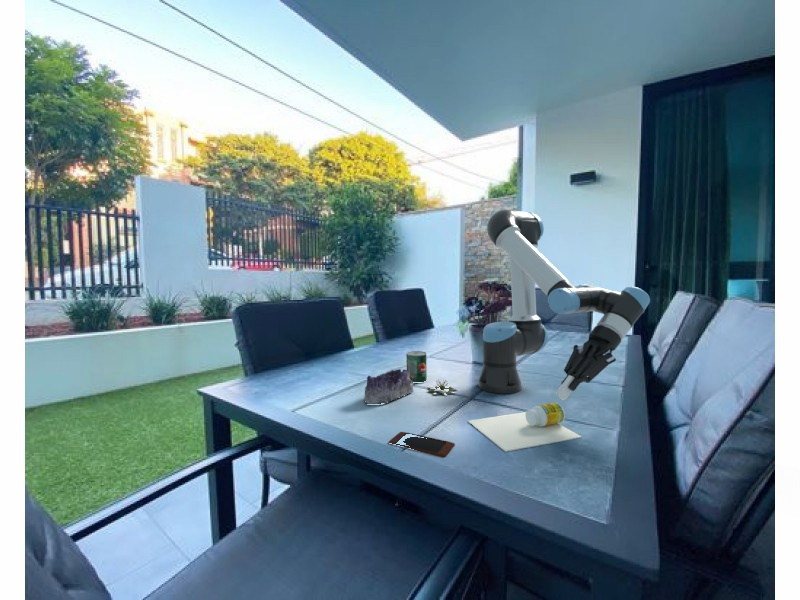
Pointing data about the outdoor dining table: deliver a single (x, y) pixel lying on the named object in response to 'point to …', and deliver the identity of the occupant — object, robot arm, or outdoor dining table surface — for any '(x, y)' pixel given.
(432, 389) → the lily flower
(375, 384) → the geode
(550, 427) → the mat
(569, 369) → the robot arm
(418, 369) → the canned tomato
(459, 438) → the outdoor dining table surface
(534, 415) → the supplement bottle
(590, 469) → the outdoor dining table surface
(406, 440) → the smartphone
